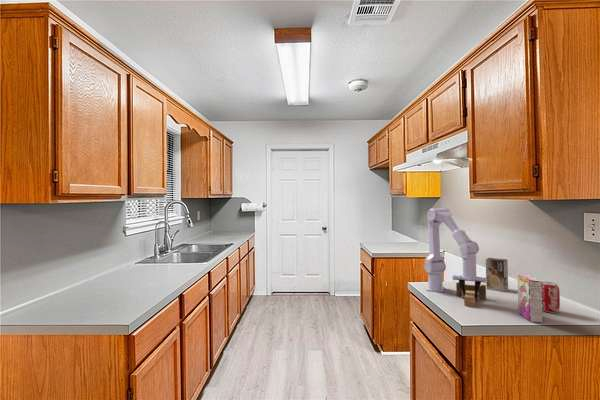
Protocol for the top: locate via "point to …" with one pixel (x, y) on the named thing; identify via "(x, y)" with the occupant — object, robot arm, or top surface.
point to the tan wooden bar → (469, 298)
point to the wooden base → (481, 291)
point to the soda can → (550, 297)
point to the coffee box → (497, 274)
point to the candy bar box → (530, 298)
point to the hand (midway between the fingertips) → (470, 296)
